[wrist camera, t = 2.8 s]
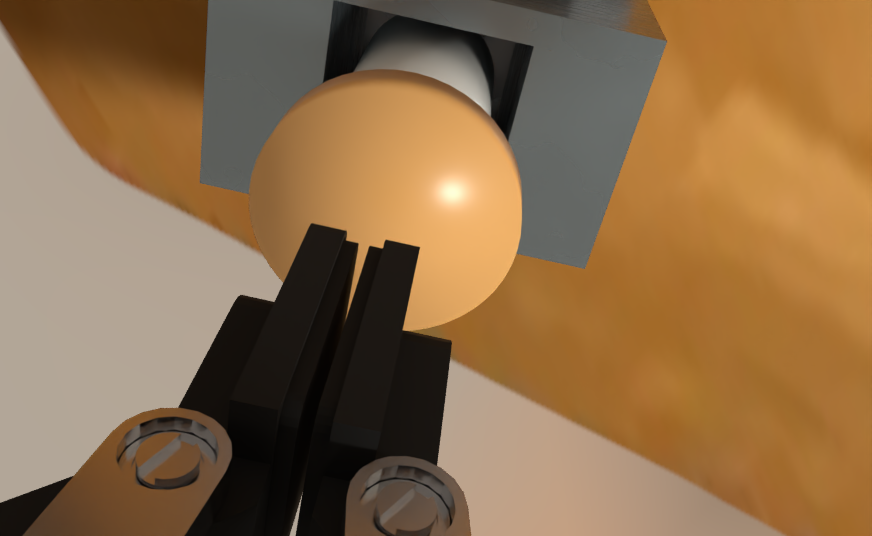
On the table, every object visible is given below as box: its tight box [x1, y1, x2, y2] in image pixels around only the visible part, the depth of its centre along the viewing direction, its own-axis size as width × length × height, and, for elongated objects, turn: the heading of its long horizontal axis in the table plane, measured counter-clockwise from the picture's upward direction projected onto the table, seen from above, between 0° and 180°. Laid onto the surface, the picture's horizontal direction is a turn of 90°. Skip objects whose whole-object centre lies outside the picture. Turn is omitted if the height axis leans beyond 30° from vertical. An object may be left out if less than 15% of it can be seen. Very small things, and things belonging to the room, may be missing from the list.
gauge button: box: [249, 15, 522, 331], centre depth 18 cm, size 5×5×8 cm
